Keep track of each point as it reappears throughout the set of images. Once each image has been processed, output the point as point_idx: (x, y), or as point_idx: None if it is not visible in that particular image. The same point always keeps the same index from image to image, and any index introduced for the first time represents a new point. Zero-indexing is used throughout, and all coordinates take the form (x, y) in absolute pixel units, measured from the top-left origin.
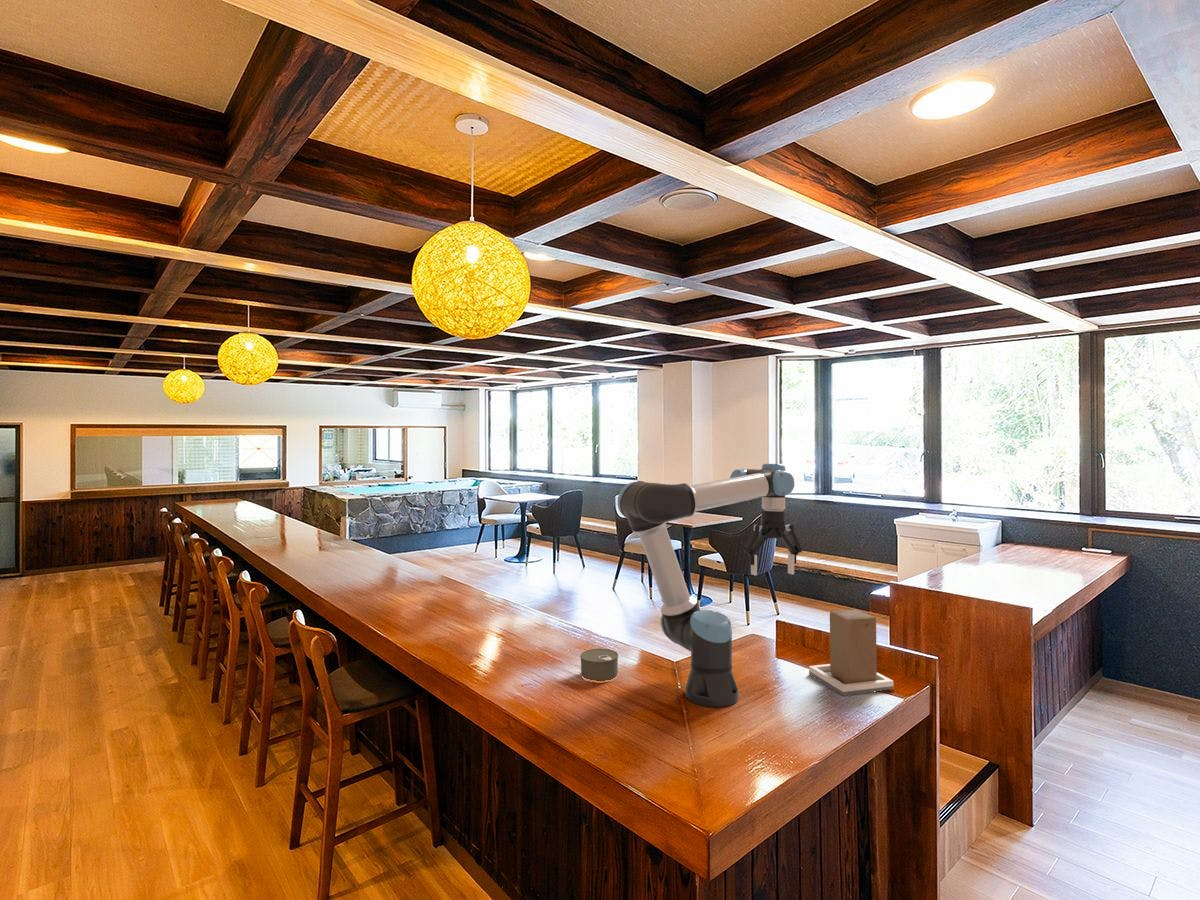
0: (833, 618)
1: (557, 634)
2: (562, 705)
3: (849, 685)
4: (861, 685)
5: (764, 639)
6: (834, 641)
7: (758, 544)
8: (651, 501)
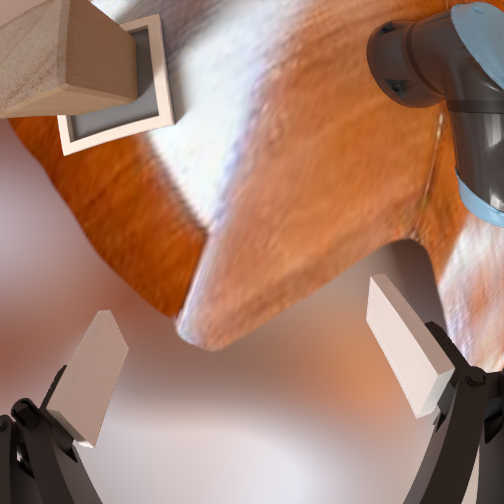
0: (77, 56)
1: (479, 345)
2: None
3: (140, 20)
4: None
5: (198, 333)
6: (108, 65)
7: (469, 470)
8: None
